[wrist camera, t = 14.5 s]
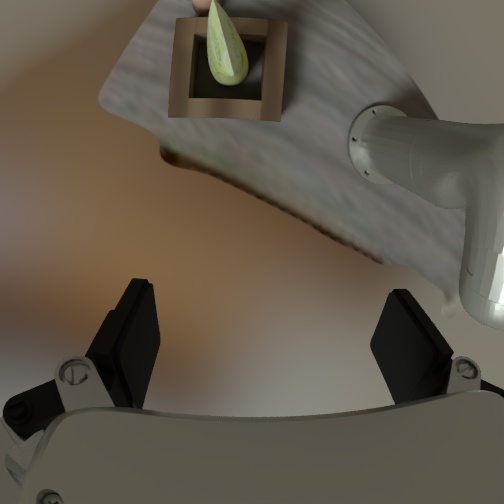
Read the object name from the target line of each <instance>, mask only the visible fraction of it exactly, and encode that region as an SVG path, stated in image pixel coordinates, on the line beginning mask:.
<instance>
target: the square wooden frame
mask: <svg viewBox="0 0 504 504" xmlns="http://www.w3.org/2000/svg"><path fill="white" fill-rule="evenodd" d="M229 18H230V20H231V22H232V23H233V25H234V27H235V29H236V30H237V32H238V34H239V36H240V38H241V40H242V43H244V44H259V45H264V52H263V64H262V77H261V89H260V101H257V100H242V99H218V98H195V91H196V77H197V65H198V54H199V44H200V43H207V26H208V17H190V18H177V19H176V27H175V35H174V44H173V53H172V64H171V76H170V90H169V108H168V118H179V117H202V118H235V119H252V120H265V121H276V122H280V120H281V108H282V96H283V84H284V71H285V58H286V45H287V31H288V22H287V21H279V20H269V19H258V18H242V17H229Z"/></svg>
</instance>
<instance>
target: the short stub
mask: <svg viewBox="0 0 504 504" xmlns="http://www.w3.org/2000/svg"><path fill="white" fill-rule="evenodd" d="M216 1H217V2H218V3H219V5H220V6H221V0H216ZM211 2H212V0H192V4H193V8H194V11H195V12H196V13H197V14H199V15H202V16H209V11H210V6H211Z"/></svg>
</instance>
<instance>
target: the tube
mask: <svg viewBox="0 0 504 504" xmlns="http://www.w3.org/2000/svg"><path fill="white" fill-rule="evenodd" d="M207 53H208V61H209V66H210V69H211V72H212V74H213V76H214V78H215V79H216V81H217V82H219V83H220V84H222V85H225V86H234V85H237V84H239V83H241V82H242V81H243V80H244V79H245V78H246V76H247V74H248V58H247V54H246V51H245V48H244V45H243V43H242V40H241V38H240V36H239V34H238V32H237V30H236V29H235V27H234V25H233V23H232V22H231V20H230V18H229V17H228V15H227V14H226V12H225V11H224V9H223V8H222V7H221V6H220V5H219V3H218V2H217V1H216V0H212V2H211V6H210V11H209V17H208V26H207Z"/></svg>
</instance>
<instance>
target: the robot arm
mask: <svg viewBox="0 0 504 504" xmlns="http://www.w3.org/2000/svg"><path fill="white" fill-rule="evenodd" d="M372 111H374V113H372ZM352 137H354V140H352ZM347 144H348V153H349V157H350V159H351V162H352V164H353V166H354V167H355V169H356V170H357V171H358V172H359V174H360V175H361V176H363V177H364V178H365V179H367V180H369V181H370V182H373V183H375V184H379V185H392V184H398V185H400V186H401V187H403V188H405V189H407V190H409V191H411V192H412V193H414V194H416V195H418V196H420V197H421V198H423V199H425V200H427V201H428V202H430V203H432V204H434V205H436V206H438V207H441V208H444V209H459V208H463V207H466V219H465V227H466V229H465V239H464V248H463V256H462V263H461V270H460V277H459V297H460V301H461V303H462V305H463V307H464V309H465V310H466V312H467V313H468V314H469V315H470V316H471V317H473V318H474V319H475V320H476V321H478V322H479V323H481V324H483V325H486V326H488V327H491V328H495V329H499V330H504V124H469V123H458V122H451V121H444V120H435V119H426V118H417V117H408V116H407V115H406V114H405V113H404V112H402V111H401V110H399V109H397V108H394V107H392V106H386V105H378V106H372V107H370V108H367V109H365V110H364V111H362V112H361V113H360V114H359V115H358V116H357V117H356V118H355V120H354V121H353V123H352V125H351V127H350V130H349V133H348V139H347ZM365 171H366V173H364V172H365ZM159 346H160V332H159V325H158V318H157V312H156V304H155V297H154V289H153V285H152V284H151V283H149V282H148V280H147V279H137V278H133V279H132V280H131V282H130V284H129V285H128V287H127V289H126V290H125V292H124V294H123V295H122V297H121V299H120V301H119V302H118V304H117V306H116V308H115V310H110V311H109V313H108V314H107V316H106V318H105V320H104V321H103V323H102V325H101V327H100V329H99V331H98V332H97V334H96V336H95V338H94V340H93V342H92V344H91V345H90V347H89V349H88V351H87V353H86V355H85V357H84V356H71V357H68V358H65V359H63V360H62V361H61V362H60V363H59V364H58V365H57V367H56V369H55V373H54V376H55V379H54V380H51V381H49V382H47V383H44V384H42V385H39V386H37V387H35V388H33V389H30V390H28V391H25V392H23V393H20V394H18V395H15V396H13V397H12V398H10V399H9V400H8V401H7V402H6V404H5V406H4V409H3V416H2V417H1V418H0V504H504V390H503V389H501V388H499V387H496V386H494V385H492V384H490V383H488V382H486V381H484V380H482V379H481V371H480V368H479V366H478V365H477V364H476V363H475V362H474V361H473V360H471V359H470V358H467V357H462V356H459V357H456V358H455V359H454V360H452V359H451V357H452V355H453V353H454V352H453V350H452V349H451V347H450V346H449V344H448V343H447V342H446V340H445V339H444V337H443V336H442V335H441V333H440V332H439V330H438V329H437V328H436V326H435V325H434V323H433V322H432V321H431V319H430V318H429V317H428V315H427V314H426V313H425V311H424V310H423V309H422V307H421V306H420V305H419V304H418V302H417V301H416V300H415V298H414V297H413V296H412V295H411V293H410V292H409V291H408V290H407V289H394V290H393V291H392V292H391V293H389V295H388V297H387V300H386V303H385V306H384V308H383V311H382V314H381V316H380V319H379V322H378V324H377V327H376V329H375V332H374V334H373V337H372V339H371V343H370V347H371V350H372V353H373V355H374V357H375V359H376V361H377V364H378V366H379V368H380V370H381V372H382V375H383V377H384V379H385V381H386V384H387V386H388V388H389V391H390V393H391V395H392V398H393V400H394V402H395V405H390V406H385V407H379V408H372V409H365V410H358V411H350V412H342V413H333V414H321V415H308V416H289V417H228V416H227V417H226V416H209V415H195V414H182V413H172V412H163V411H155V410H145V409H142V407H143V403H144V399H145V395H146V392H147V388H148V385H149V381H150V378H151V374H152V370H153V367H154V363H155V360H156V357H157V353H158V350H159Z"/></svg>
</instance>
